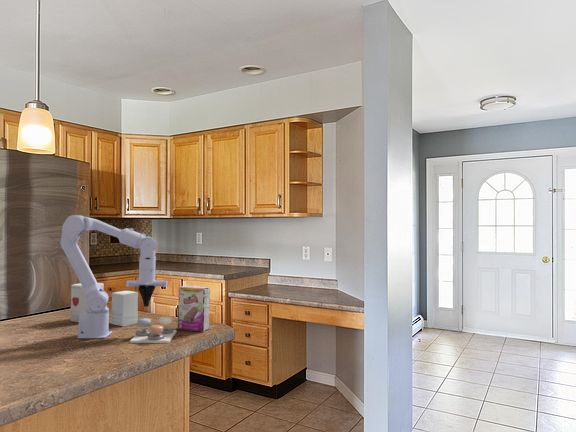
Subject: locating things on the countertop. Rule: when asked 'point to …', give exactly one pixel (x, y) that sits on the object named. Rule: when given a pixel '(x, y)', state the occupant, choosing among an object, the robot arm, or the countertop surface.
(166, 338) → the panel
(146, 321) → the slate button
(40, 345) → the countertop surface
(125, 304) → the supplement box
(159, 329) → the terracotta button
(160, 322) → the cream button
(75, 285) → the supplement box
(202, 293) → the candy bar box
